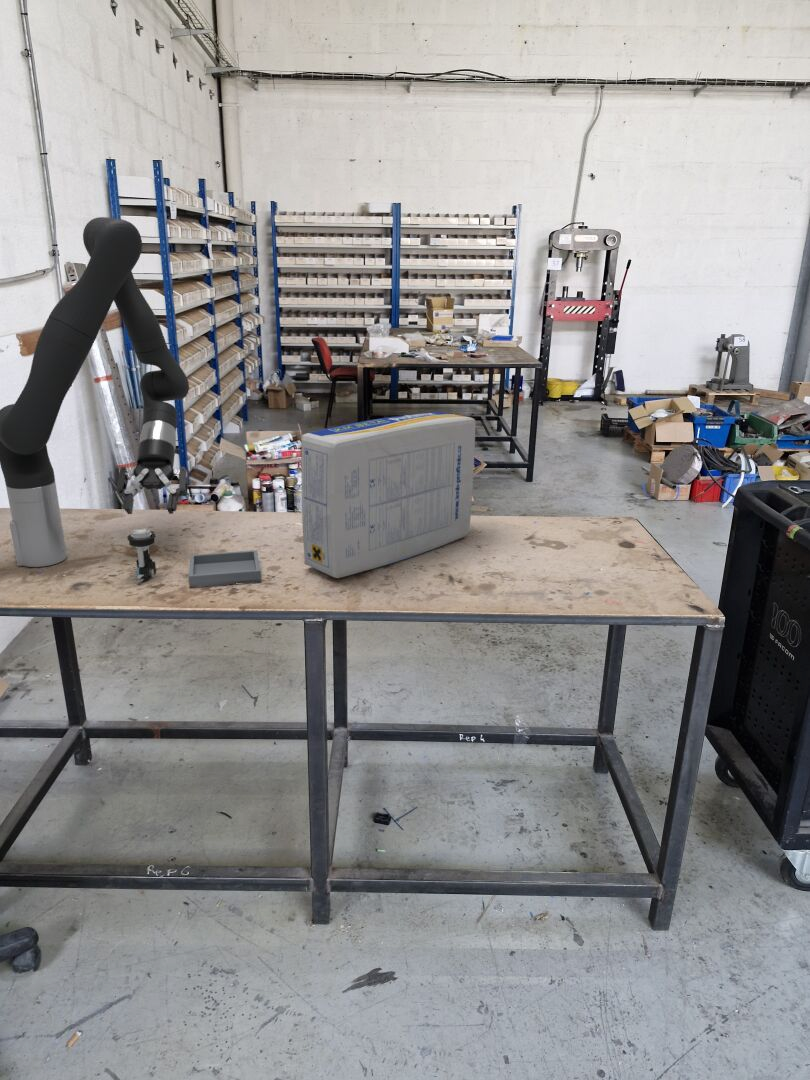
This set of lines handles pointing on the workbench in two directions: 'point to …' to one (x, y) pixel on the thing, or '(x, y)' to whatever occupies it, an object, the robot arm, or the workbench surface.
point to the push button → (143, 552)
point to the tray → (224, 568)
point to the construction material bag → (385, 490)
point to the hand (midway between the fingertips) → (149, 512)
